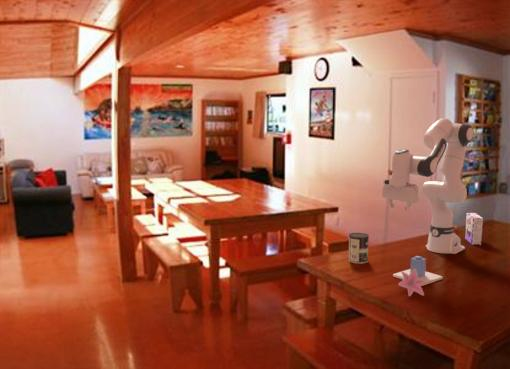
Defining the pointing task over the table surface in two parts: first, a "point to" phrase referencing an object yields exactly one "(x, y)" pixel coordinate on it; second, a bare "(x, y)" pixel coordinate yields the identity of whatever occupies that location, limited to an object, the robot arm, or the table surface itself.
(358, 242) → the coffee can
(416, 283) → the lily
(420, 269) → the blue domed block
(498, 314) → the table surface
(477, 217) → the candy box
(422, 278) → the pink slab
